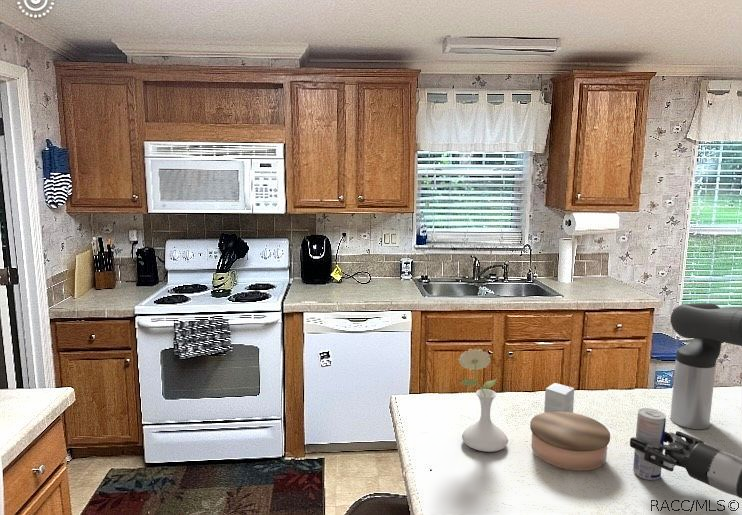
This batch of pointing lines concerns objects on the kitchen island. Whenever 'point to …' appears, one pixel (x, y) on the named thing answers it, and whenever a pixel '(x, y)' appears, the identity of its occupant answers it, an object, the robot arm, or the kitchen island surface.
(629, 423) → the kitchen island surface
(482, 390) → the flower in vase
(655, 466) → the beverage can
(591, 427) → the lidded bowl
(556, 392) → the product box
